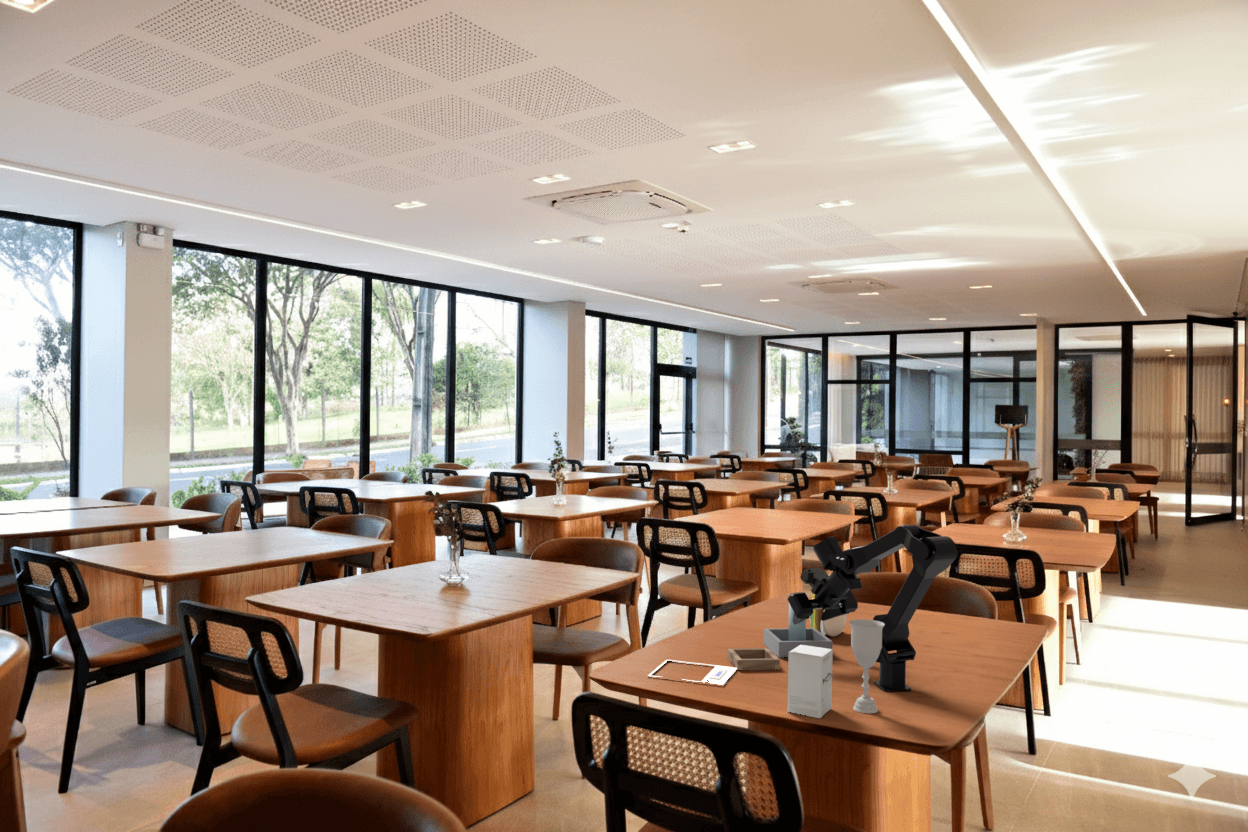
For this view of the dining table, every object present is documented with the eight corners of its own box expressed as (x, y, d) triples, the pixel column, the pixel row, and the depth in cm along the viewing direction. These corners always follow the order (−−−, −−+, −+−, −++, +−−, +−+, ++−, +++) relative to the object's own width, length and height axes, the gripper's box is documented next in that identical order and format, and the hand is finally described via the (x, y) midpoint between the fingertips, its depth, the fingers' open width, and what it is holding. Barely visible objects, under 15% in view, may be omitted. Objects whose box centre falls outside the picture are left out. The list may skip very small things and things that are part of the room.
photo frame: (723, 684, 194) (647, 674, 201) (723, 689, 194) (647, 679, 201) (738, 666, 208) (666, 658, 214) (737, 671, 208) (666, 663, 214)
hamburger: (832, 641, 236) (832, 597, 236) (805, 636, 241) (805, 593, 241) (852, 633, 245) (852, 591, 245) (825, 628, 250) (826, 587, 250)
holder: (779, 669, 208) (779, 659, 208) (737, 670, 207) (737, 660, 207) (767, 657, 219) (767, 648, 219) (727, 658, 217) (727, 648, 217)
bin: (832, 657, 220) (832, 641, 220) (778, 657, 219) (778, 642, 219) (814, 642, 234) (814, 627, 234) (763, 643, 233) (763, 628, 233)
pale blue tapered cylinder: (803, 649, 223) (803, 600, 223) (786, 647, 225) (786, 599, 225) (807, 645, 227) (807, 597, 227) (791, 643, 229) (791, 596, 229)
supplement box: (821, 719, 174) (822, 656, 174) (786, 712, 178) (787, 651, 178) (832, 709, 181) (833, 648, 181) (798, 702, 184) (799, 643, 184)
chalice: (877, 703, 184) (878, 619, 184) (888, 714, 177) (889, 627, 177) (843, 703, 184) (844, 619, 184) (852, 714, 177) (854, 626, 177)
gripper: (850, 556, 222) (822, 592, 232) (792, 561, 214) (765, 597, 223) (872, 592, 215) (841, 627, 225) (812, 598, 207) (783, 635, 216)
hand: (808, 621), depth 223 cm, fingers open, 9 cm apart
